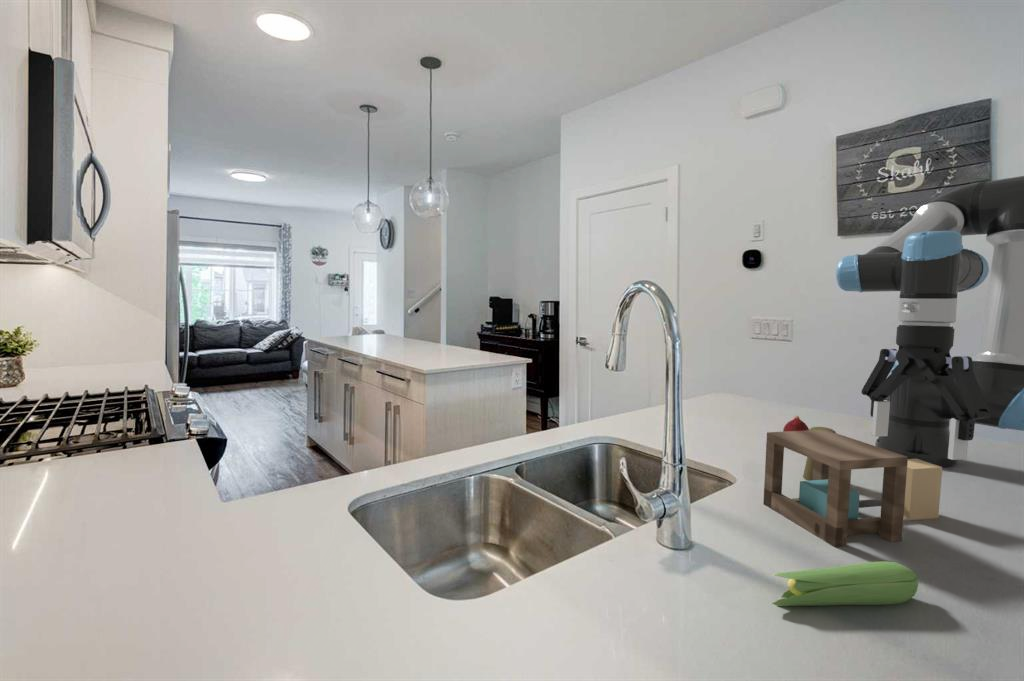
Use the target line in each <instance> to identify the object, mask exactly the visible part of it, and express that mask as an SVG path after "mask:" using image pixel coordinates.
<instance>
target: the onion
mask: <svg viewBox="0 0 1024 681" xmlns="http://www.w3.org/2000/svg"><path fill="white" fill-rule="evenodd" d="M805 430H810V428H809V426H808V425H807V424H806V423H805V422H804V421H803V420H801V419H800V416H799V415H795V416H794V417H793V419H791V420H789V421H788V422H786V424H785V425H784V427H783V431H782V432H785V431H805Z"/></svg>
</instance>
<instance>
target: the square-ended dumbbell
mask: <svg viewBox="0 0 1024 681" xmlns="http://www.w3.org/2000/svg"><path fill="white" fill-rule="evenodd" d="M942 475H943V467H941V466H938V465H934V464H931V463H928V462H925V461H922V460H919V459H908V463H907V477H906V490H905V503H904V517H903V519H904V520H905V519H906V520H907V521H918V520H928V519H929V520H930V519H939V516H940V515H939V512H940V501H941V500H940V499H941V489H942V488H941V487H942ZM827 491H828V479H825V480H811V481H807V480H800V481H799V494H798V498H799V504H801V505H803V506H805V507H806V508H808V509H810V510H812V511H814V512H816V513H817V514H819V515H821V516H823V517H825V518H826V507H827ZM860 495H861V494H860V492H859V491H858V490H856V489H853V488H851V487H850V498H849V514H848V520H851V519H859V509H862V508H872V507H873V508H874V507H881V502H882V498H874V499H873V498H871V499H860Z"/></svg>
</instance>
